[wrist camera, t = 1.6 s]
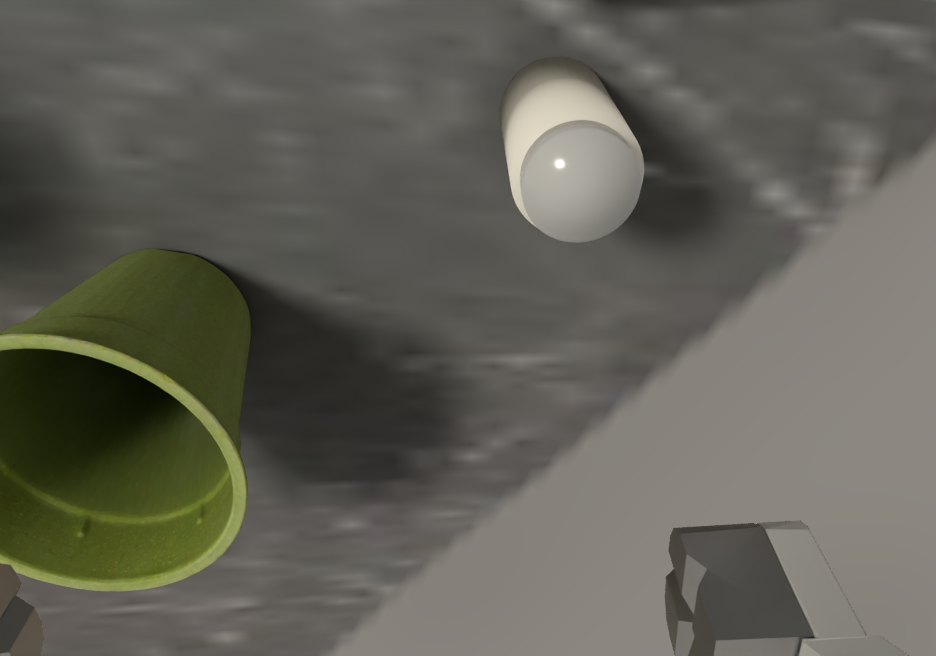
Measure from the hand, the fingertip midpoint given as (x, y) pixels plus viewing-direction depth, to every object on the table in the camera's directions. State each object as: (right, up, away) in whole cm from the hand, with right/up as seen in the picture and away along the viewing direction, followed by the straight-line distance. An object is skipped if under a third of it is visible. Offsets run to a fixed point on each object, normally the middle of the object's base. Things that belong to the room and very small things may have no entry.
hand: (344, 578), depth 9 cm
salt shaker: (+5, +12, +21) cm, 25 cm away
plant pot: (-12, +4, +26) cm, 29 cm away
